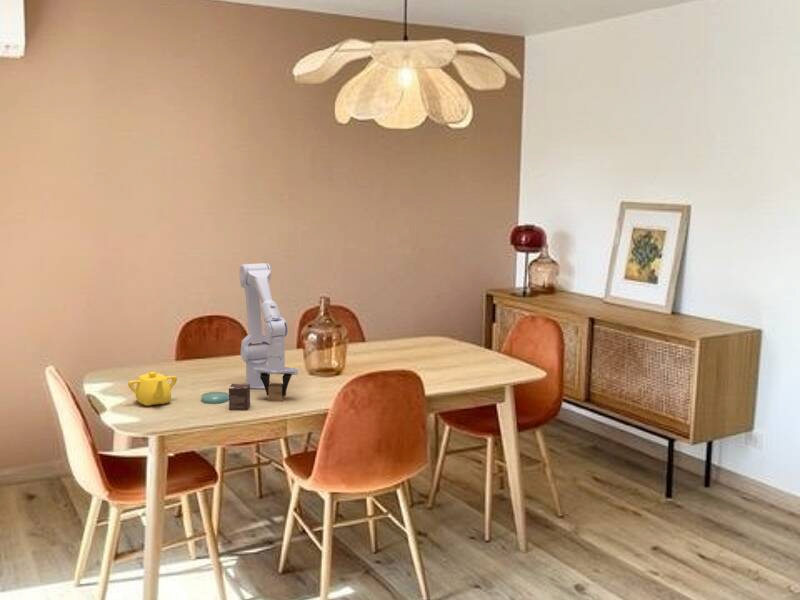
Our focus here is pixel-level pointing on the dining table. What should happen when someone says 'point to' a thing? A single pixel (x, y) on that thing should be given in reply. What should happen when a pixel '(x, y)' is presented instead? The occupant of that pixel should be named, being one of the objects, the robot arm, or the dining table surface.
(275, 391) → the walnut block
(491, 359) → the dining table surface
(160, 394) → the teapot
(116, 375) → the dining table surface
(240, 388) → the box
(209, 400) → the coaster
